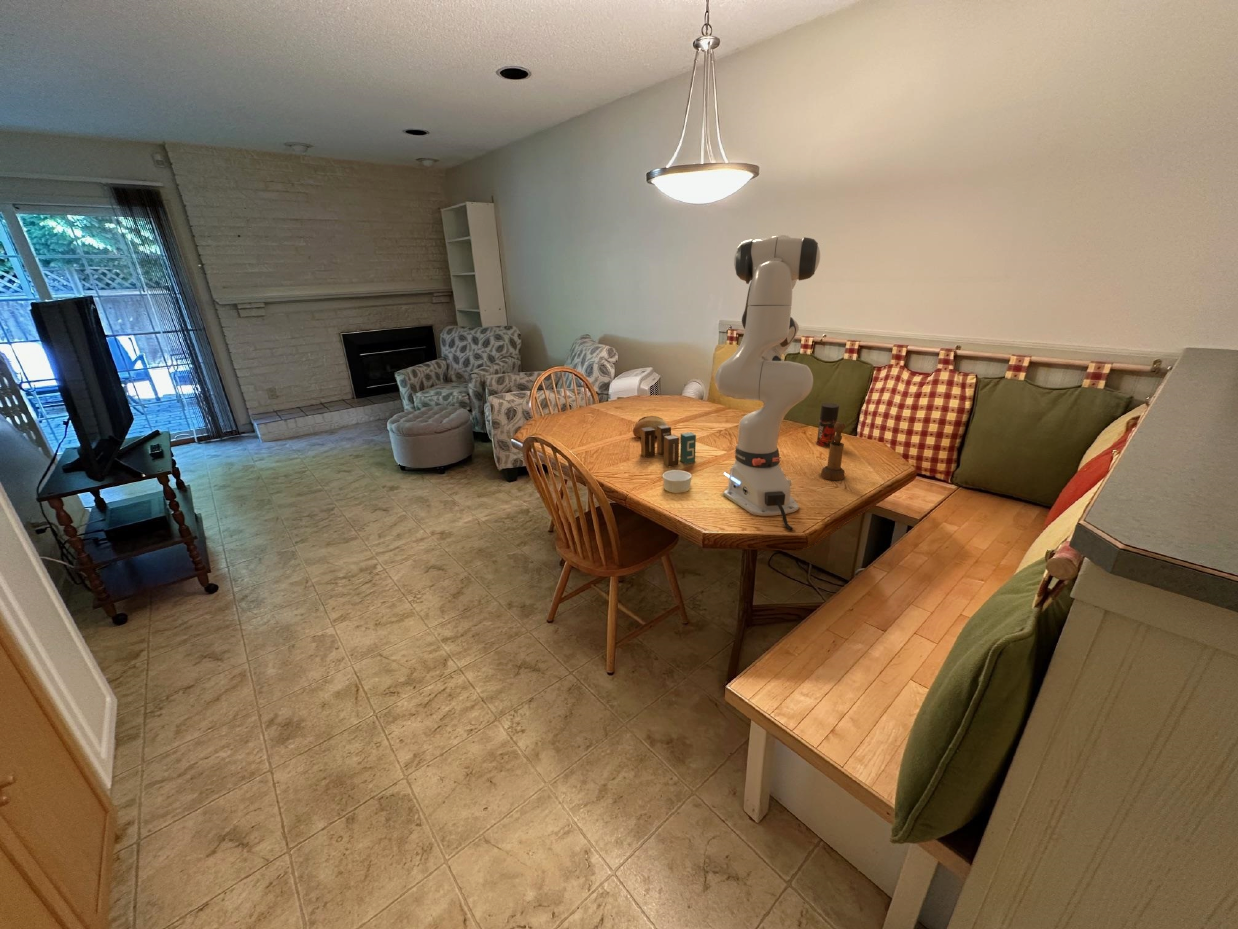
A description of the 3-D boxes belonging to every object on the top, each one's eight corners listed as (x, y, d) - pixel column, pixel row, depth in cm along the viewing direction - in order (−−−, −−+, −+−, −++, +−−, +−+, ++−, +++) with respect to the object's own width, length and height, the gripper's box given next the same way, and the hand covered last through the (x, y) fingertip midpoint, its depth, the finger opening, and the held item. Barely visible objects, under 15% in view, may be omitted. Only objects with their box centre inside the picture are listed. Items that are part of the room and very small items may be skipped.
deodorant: (813, 444, 180) (818, 405, 175) (821, 440, 184) (826, 402, 178) (828, 447, 176) (834, 408, 171) (836, 444, 180) (842, 405, 174)
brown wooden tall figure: (836, 472, 155) (843, 418, 148) (848, 479, 149) (856, 424, 142) (817, 473, 154) (824, 420, 147) (828, 481, 148) (836, 426, 141)
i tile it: (650, 452, 177) (650, 426, 174) (655, 455, 174) (655, 429, 170) (641, 454, 176) (640, 428, 172) (645, 457, 173) (644, 431, 169)
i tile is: (673, 461, 168) (674, 434, 164) (678, 465, 165) (679, 437, 161) (663, 463, 167) (663, 436, 163) (668, 467, 163) (668, 439, 160)
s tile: (690, 458, 170) (690, 432, 166) (695, 462, 167) (696, 435, 163) (680, 460, 169) (680, 433, 165) (685, 464, 166) (685, 436, 162)
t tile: (666, 450, 179) (666, 424, 176) (671, 453, 176) (671, 427, 173) (657, 451, 178) (656, 426, 174) (661, 454, 175) (661, 428, 171)
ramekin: (656, 488, 148) (656, 475, 146) (676, 480, 153) (676, 467, 151) (677, 496, 141) (677, 483, 140) (697, 488, 147) (697, 475, 145)
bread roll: (631, 433, 199) (630, 415, 196) (666, 431, 201) (666, 412, 198) (634, 440, 190) (634, 421, 188) (671, 438, 192) (671, 419, 189)
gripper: (739, 344, 177) (717, 373, 176) (787, 362, 165) (764, 394, 164) (744, 353, 182) (722, 382, 181) (791, 372, 170) (768, 403, 169)
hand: (743, 388), depth 172 cm, fingers open, 8 cm apart
